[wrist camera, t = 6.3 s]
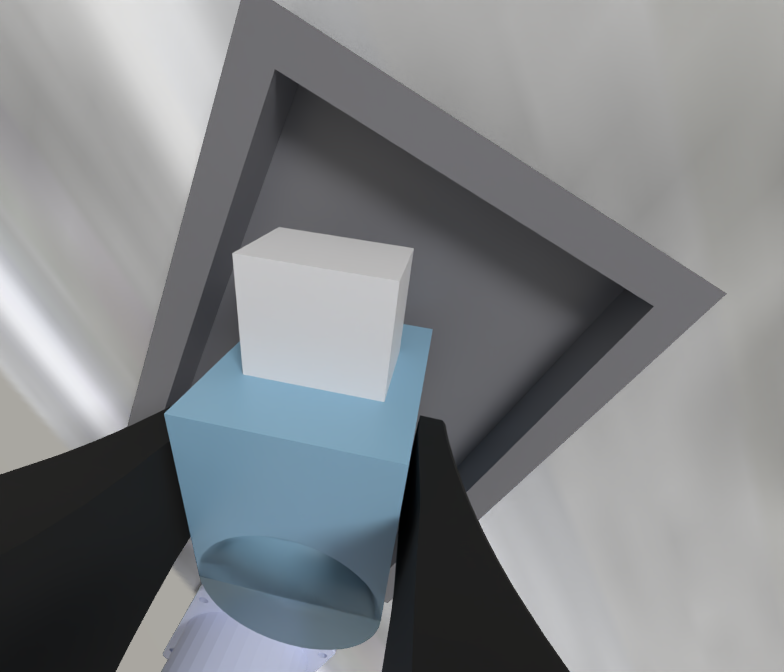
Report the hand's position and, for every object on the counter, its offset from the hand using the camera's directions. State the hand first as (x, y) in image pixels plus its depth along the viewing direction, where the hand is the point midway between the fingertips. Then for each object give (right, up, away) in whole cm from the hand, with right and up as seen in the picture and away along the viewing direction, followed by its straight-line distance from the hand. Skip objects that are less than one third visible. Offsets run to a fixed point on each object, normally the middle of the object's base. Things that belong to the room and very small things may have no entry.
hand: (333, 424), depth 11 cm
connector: (0, +1, +1) cm, 2 cm away
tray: (0, +1, +2) cm, 3 cm away
